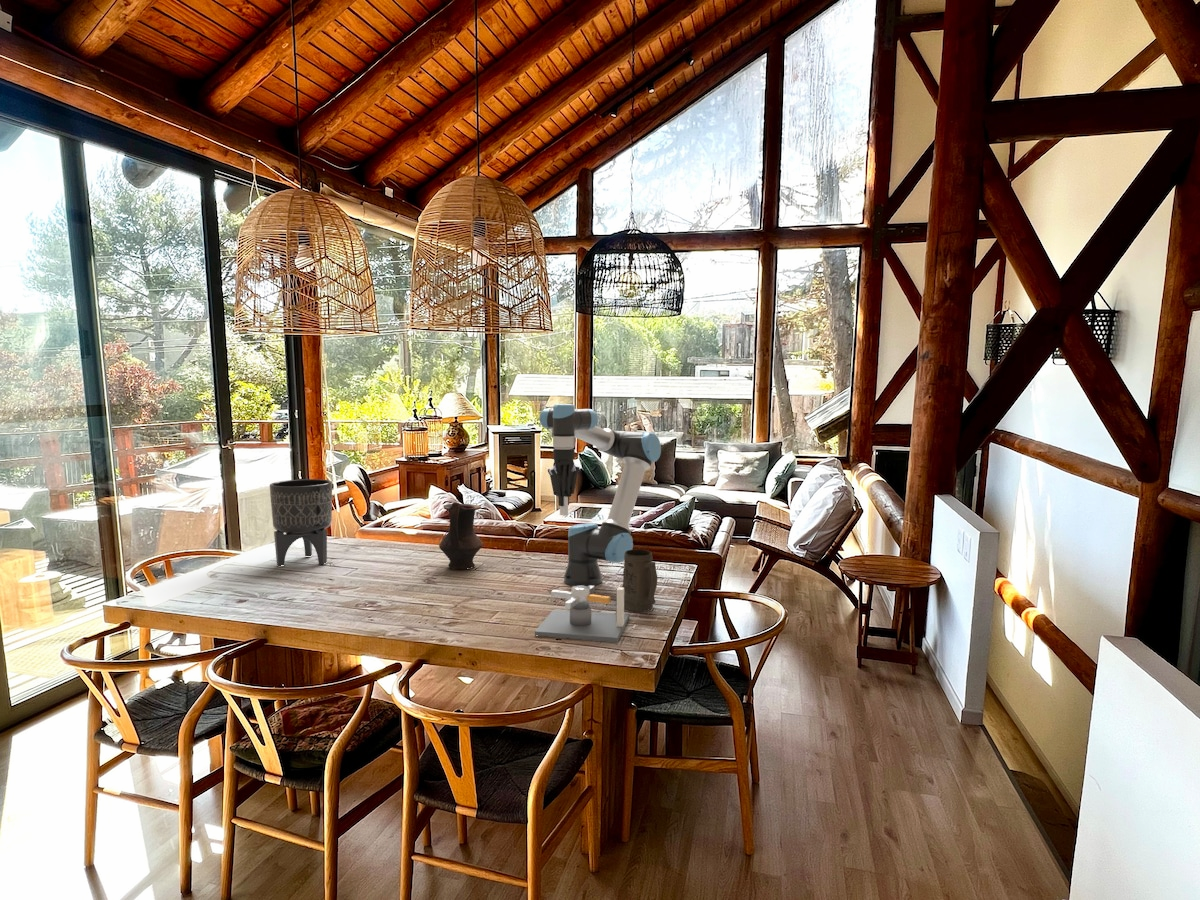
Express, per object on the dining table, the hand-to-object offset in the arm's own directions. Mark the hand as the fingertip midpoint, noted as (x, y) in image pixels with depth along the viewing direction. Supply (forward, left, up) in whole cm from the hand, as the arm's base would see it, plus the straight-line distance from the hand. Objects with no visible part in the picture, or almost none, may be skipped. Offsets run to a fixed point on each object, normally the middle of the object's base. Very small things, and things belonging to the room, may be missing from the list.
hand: (563, 514), depth 239 cm
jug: (-39, -56, -33) cm, 76 cm away
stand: (+21, +11, -32) cm, 40 cm away
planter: (-33, -127, -33) cm, 135 cm away
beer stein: (-2, +28, -33) cm, 43 cm away
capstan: (+21, +11, -26) cm, 35 cm away
